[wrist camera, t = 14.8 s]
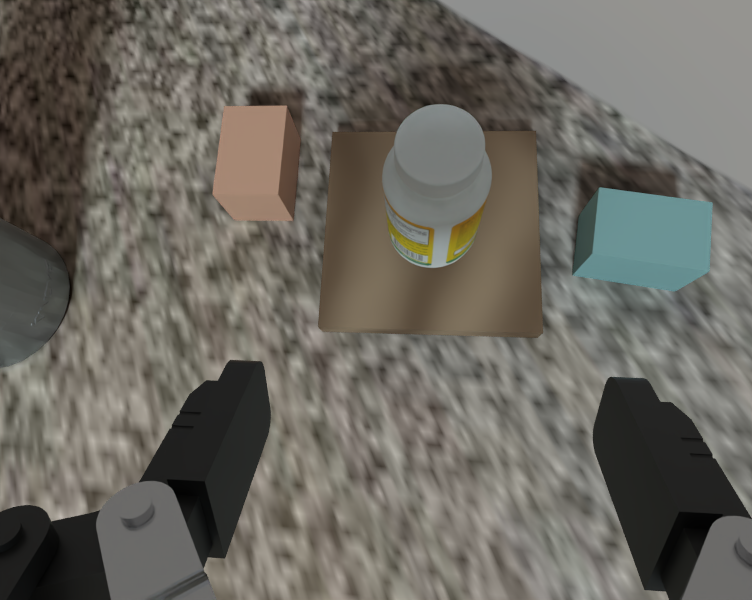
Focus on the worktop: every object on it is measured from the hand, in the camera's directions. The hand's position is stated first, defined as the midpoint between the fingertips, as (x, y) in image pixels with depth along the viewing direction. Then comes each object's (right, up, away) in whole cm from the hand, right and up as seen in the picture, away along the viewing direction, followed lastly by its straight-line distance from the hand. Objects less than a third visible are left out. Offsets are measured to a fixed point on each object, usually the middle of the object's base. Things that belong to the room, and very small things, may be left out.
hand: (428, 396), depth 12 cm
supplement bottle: (+2, +7, +20) cm, 21 cm away
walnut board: (+2, +6, +21) cm, 22 cm away
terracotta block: (-9, +10, +23) cm, 27 cm away
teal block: (+14, +5, +20) cm, 25 cm away
